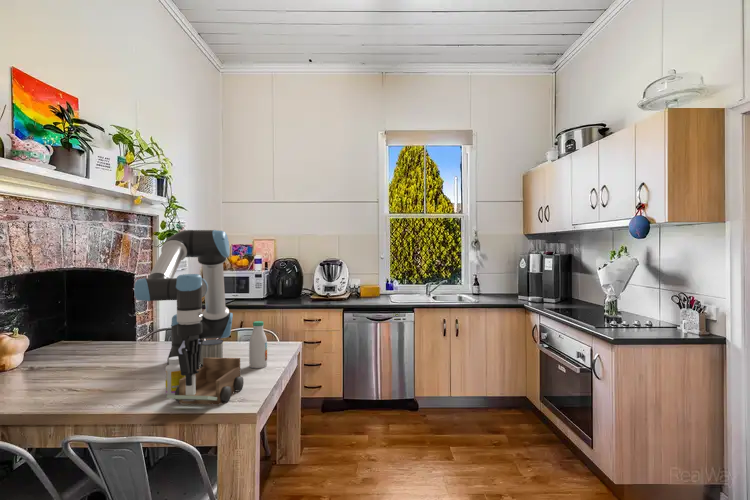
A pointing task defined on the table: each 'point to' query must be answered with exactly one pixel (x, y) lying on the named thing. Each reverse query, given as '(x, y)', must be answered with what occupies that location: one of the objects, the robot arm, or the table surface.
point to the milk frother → (211, 349)
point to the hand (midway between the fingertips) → (190, 394)
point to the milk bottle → (258, 346)
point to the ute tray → (214, 381)
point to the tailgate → (191, 397)
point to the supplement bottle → (172, 375)
